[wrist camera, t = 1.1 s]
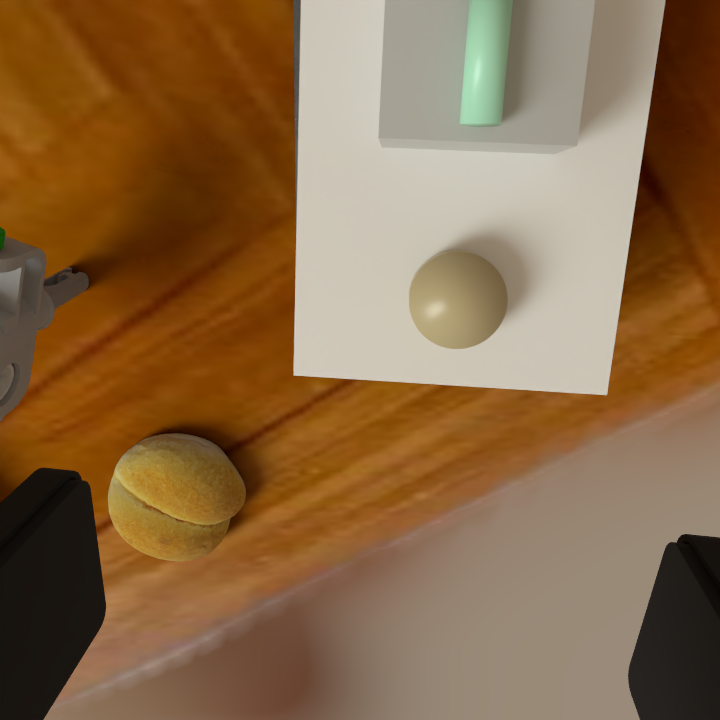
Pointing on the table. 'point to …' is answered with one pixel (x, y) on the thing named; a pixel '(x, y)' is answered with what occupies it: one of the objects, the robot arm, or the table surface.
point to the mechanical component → (26, 311)
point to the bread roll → (175, 496)
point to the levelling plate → (468, 187)
